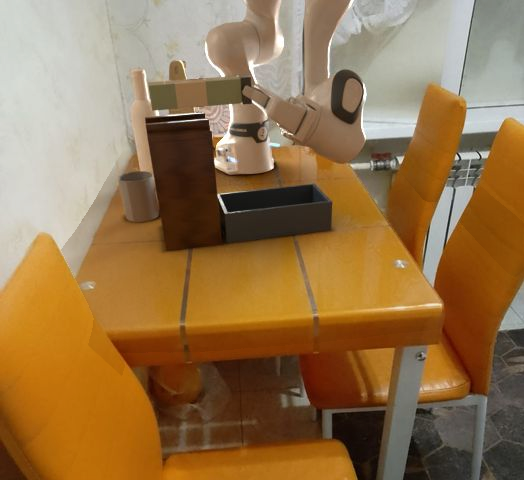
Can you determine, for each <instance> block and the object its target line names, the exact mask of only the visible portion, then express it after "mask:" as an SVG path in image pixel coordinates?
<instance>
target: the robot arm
mask: <svg viewBox="0 0 524 480" xmlns="http://www.w3.org/2000/svg"><path fill="white" fill-rule="evenodd" d="M241 1H242V2H243V4H244V5H245V6H246V12H245V16H244V18H243V20H242V21H232V22H231V21H230V22H225V23H221V24H219V25H216V26H214V27H213V28H211V29H210V30H209V31H208V32H207V35H206V37H205V42H204V49H205V54H206V58H207V60H208V61H209V63H210V64H211V66H212V67H213V68H215V69H216V70H217V72H219V74H220V75H221V77H227V76H237V74H247V75H249V76H250V77H251V87H249V86H247V85H244V87H243V89H242V94H243V95H245V96H246V97H248V98H250V99H251V100H252V104H244V105H243V104H242V103H240V104H229V111H230V121H225V124H226V125H225V127H228V128H227V134H225V135H224V136H223V138H222V139H221V140H220V141H219V142H217V144H216V146H213V151H214V150H215V157H214V162H215V169H217V170H219V171H221V172H223V173H225V174H227V175H231V176H232V175H233V176H234V175H254V174H261V173H266V172H269V171H272V169H274V168H275V165H274V163H275V158H273V154H272V153H273V152H272V147H277V148H278V147H280V143H275V142H271V136H270V135H269V132H270V120H272V121H273V122H275V123H276V125H277V127H279V128H280V135H281V136H283V137H284V138H286V139H288V140H290V141H292V142H294V144H296V145H299V146H301V147H306V148H309V149H310V150H311V151H313V153H314V154H316V155H317V156H319V157H322V158H324V159H326V160H328V161H330V162H333V163H336V164H339V165H345V164H349V163H350V162H352V161H353V160H355V159H356V158H357V157H358V156H359V155H360V153H361V152H362V150H363V149H364V147H365V143H366V140H367V138H366V137H367V136H366V133H365V131H364V125H363V112H364V106H365V104H366V99H367V90H366V89H367V88H366V86H365V83H364V80H363V78H361V77H360V75H359V74H358V73H356V72H355V71H353V70H352V69H348V68H347V69H345V68H344V69H340V70H339V71H337V72H335V73H333V74H332V75H330V48H331V43H332V39H333V37H334V34H335V32H336V30H337V28H338V26H339V24H340V23H341V21H342V20H343V18H344V16H345V15H346V14H347V12H348V11H349V9H350V8H351V6H352V4H353V2H354V0H304V12H303V23H302V35H301V37H302V38H301V53H302V54H301V56H302V57H301V63H302V65H301V69H302V73H301V74H302V75H301V76H302V78H301V79H302V80H301V82H302V83H301V85H302V86H301V93H299V94H297V95H296V96H295V97H293V96H291V95H290V96H289V97H287V99H284V98H283V97H282V96H280V95H279V94H276V93H275V92H273V91H272V90H270V89H268V88H266V87H264V86H263V85H262V84H261V83H259V81H258V80H257V78H256V75H255V71H254V67H258V66H264V65H268V64H269V63H271V62H273V61H274V60H277V59H278V58H280V56H281V55H282V52H283V49H284V45H285V43H284V42H285V38H284V33H283V31H282V29H281V27H280V21H279V20H280V19H279V18H280V9H281V5H282V2H283V0H241ZM214 147H216V148H214Z"/></svg>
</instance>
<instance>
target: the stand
mask: <svg viewBox="0 0 524 480" xmlns="http://www.w3.org/2000/svg"><path fill="white" fill-rule="evenodd" d="M145 122H146V131H147V138H148V144H149V150H150V156H151V162H152V168H153V174H154V180H155V186H156V189H155V191H156V197H157V203H158V209H159V217H160V221H161V228H162V235H163V240H164V247H165V252H166V251H167V252H168V251H175V250H176V251H177V250H184V249H193V248H200V247H209V246H217V245H218V246H219V245H222V244H223V239H222V228H221V226H220V216H219V205H218V195H217V194H218V186H217V185H218V184H217V174H216V168H215V162H214V158H215V153H214V149H213V147H214V144H213V140H212V131H211V129H210V125H209V119H206V118H205V113H204V112H202V113H189V114H177V115H169V114H167V115H159V116H153V117H145Z"/></svg>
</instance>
